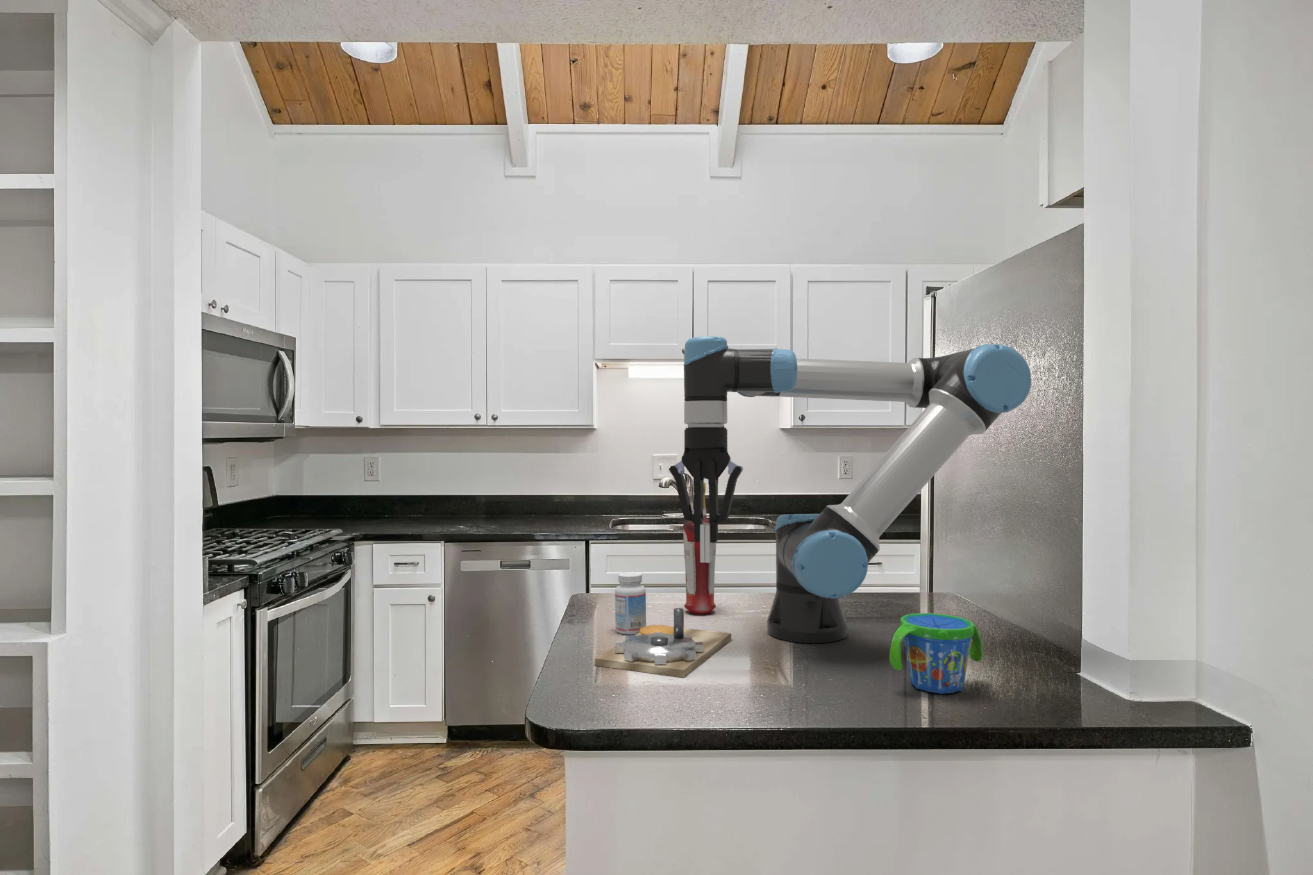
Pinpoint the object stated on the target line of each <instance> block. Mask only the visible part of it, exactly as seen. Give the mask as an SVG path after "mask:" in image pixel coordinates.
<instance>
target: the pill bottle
mask: <svg viewBox="0 0 1313 875" xmlns="http://www.w3.org/2000/svg"><path fill="white" fill-rule="evenodd" d="M617 577H618V583H619V584H618V585H617V586H616V587H615V589H614V605H615V607H614V611H615V612H614V613H615V614H614V615H615V618H614V619H615V622H614V623H615V632H617V633H618V634H620V635H628V636H630V635H636V634H638V633H640V628H642V627H645V626H647V595H646V594H647V593H646V592H647V589H646V588H645V586H644V585H643V584H641V583H642V582H643V574H642V573H641V572H638V571H637V572H636V571H626V572H621V573H619V574H618V575H617Z"/></svg>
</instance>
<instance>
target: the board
mask: <svg viewBox="0 0 1313 875" xmlns="http://www.w3.org/2000/svg"><path fill="white" fill-rule="evenodd" d="M684 634H685V635H689V636H692V640H694V641H695V642H703V652H696V659H693V660H690V661H686V660H680V661H674V662H666V664H655V662H644V661H638V660H635V661H632V662H631V661H628V660H624V653H615V646H614V647H612V648H610V649H608V650H606V651H605V652H602V654H599V655H598V656H596V657H594V666H597V667H605V668H611V669H618V670H624V671H633V672H641V673H647V674H654V675H655V674H656V675H660V676H661V675H662V676H668V677H669V676H670V677H677V678H685V677H686V676H688V675H689V674H690V673H691V672H693V671H694V670H695V669H696V668H698V667H699V666H700V665H702V664H703V663H704V662H705V661H706V660H707V659H709V658H710V657H711V656H712V655H714V654H715V653H716V652H718V651H719V650H720V649H721V648H722V647H724V646H725V645H727V643H729V642H730V641H731V640H732V633H731V632H724V631H716V630H715V631H714V630H705V629H697V628H690V627H689V628H687V627H684ZM634 635H635V636H639V635H642V634H641V633H638V634H634ZM623 642H624V641H622V642H621V643H623Z"/></svg>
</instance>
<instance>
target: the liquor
mask: <svg viewBox="0 0 1313 875" xmlns="http://www.w3.org/2000/svg"><path fill="white" fill-rule="evenodd" d="M706 485H707V483H706V482H704V484H703V519H704V520H703V523H709V518H708V517H707V509H706V508H707V507H706V498H705V496H706V492H707V486H706ZM692 486H693V488H692V489H693V492H694V483H693V485H692ZM692 513H693V514H694V509H692ZM682 536H683V538H682V539H683V555H684V570H685V572H684V573H685V601H686V602H685V604H684V609H685V610H687V611H688V612H689V613H690V614H692V615H698V616H699V615H701V616H703V615H704V616H705V615H708V614H709V615H710V614H711V613H712V612H713V611H714V609H716V607H717V605H716V603H715V570H716V569H715V568H716V557H717V556H716V554H717V553H716V551H717V542H716V543H712V561H711V562H710V563H704V562H700V542H695V540H694V523H693V522H691V521H688V520H686V522H684V523H683V525H682Z"/></svg>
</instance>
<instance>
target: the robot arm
mask: <svg viewBox="0 0 1313 875" xmlns="http://www.w3.org/2000/svg"><path fill="white" fill-rule="evenodd" d="M683 356H684V357H683V359H684V360H683V385H684V386H683V388H684V395H683V396H684V398H683V399H684V401H683V403H684V404H683V408H684V409H683V410H684V411H683V413H684V414H683V417H684V418H683V421H684V422H683V423H684V424H685V425H687V427H685V429H683V430H684V431H683V434H684V435H683V438H684V441H683V442H684V445H683V446H684V448H683V449H684V451H683V455H682V456H681V460H680V461H679V462H677V463H676V464H674V465H671V466H670V467H668V468H669V469H668V470H669V472H670V475H672V477H673V479H674V481H675V485H676V489H677V491H676V492H677V494H678V498H679V503H680V504H679V505H680V507H681V512H682V516H683V519H684V520H685V521H691V522H693V523H694V540H695V542H700V562H704V563H710V562H711V561H712V543H716V544H717V542H718V541H719V540H718V539H719V523H722V522H725V521H726V520H728V519H729V516H730V511H731V508H732V504H733V500H734V494H735V490H736V485H737V482H738V481H737V480H738V478H739V477H740V475H741V474H742V472H743V470H744V468H743V466H741V465H738V464H736V463H735V462H733V461H732V459H731V456H730V454H729V451H728V429H727V427H725V425H726V424H727V423H728V393H731V392H732V393H737V394H738V395H740V396H743V397H746V398H755V397H773V398H775V397H777V398H778V397H779V398H783V397H784V398H802V399H803V398H804V399H806V398H807V399H828V400H850V401H851V400H852V401H855V400H856V401H873V402H874V401H876V402H901V403H902V402H903V403H905V404H906V405H908V407H909V408H913V409H915V408H919V409H920V408H921V409H924V410H923V411H922V412H921V413H920V414H919V416H917V418H916V419H915V420H914V421H913V422H912V423H911V424H910V425H909V427H908V428H907V429H906V430H905V431H904V432H903V433H902V435H900V436H899V438H898V439H897V440H896V441H895V442H894V443H893V445H892V446H891V447H890V448H889V449H888V450H887V451H886V452H885V453H884V455H883V456H882V457H881V458H880V459H879V460H878V461H877V462H876V464H875V465H874V466H873V467H872V468H871V469H870V470H869V471H868V472H867V474H866V475H865V476H864V477H863V478H862V479H861V481H860V482H858V484H857V485H856V486H855V487H854V489H853V490H852V491H851V492H849V494H848V495H847V496H846V498H845V499H844V500H843V501H842V502H841V503H839V504H829V505H826V506H825V508H824V509H823V510H821V512H820V513H794V514H792V513H791V514H790V513H789V514H781V515H779V516H778V517H777V518H776V520H775V521H776V522H775V523H776V524H775V529H774V533H775V549H776V550H775V563H776V564H775V565H776V566H775V578H776V581H775V582H776V583H775V587H776V589H775V595H774V599H773V600H772V601H773V602H772V604H771V607H770V611H769V614H768V618H767V620H766V621H767V622H766V623H767V625H766V626H767V628H766V630H767V633H768V634H769V635H770V636H772V637H774V638H776V639H780V640H785V641H786V642H787V641H788V642H795V643H804V644H805V643H806V644H822V643H831V642H833V643H834V642H838V641H841V640H843V639H846V637H847V636H848V622H847V620H846V616H845V614H844V610H843V607H842V605H841V601H840V598H843V597H846V596H848V595H850V594H851V595H852V593H854V592H856V590H857V589H858V588H860V586H861V585H862V583H863V582H864V580H865V579H866V576H867V574H868V568H869V566H868V565H869V563H870V562H871V560H873V558H874V557H875V556H876V555H877V553H878V552H880V549H881V548H880V537H881V536H882V535H883V533H884V532H885V531H886V530H887V529H888V527H889V526H890V525H891V524H892V523H893V522H894V521H895V520H896V519H897V517H898V516H899V515H900V514H901V513H902V512H903V511H904V510H905V508H906V507H907V506H908V505H909V504H910V503H911V502H912V501H913V500H914V498H915V497H916V496H917V495H918V494H919V493H920V492H921V490H923V488H924V487H926V485H927V484H928V483H929V482H930V481H931V479H932V478H933V477H934V476H935V475H936V474H937V472H938V471H939V470H940V469H941V468H942V467H943V466H944V465H945V463H946V462H947V461H948V460H949V459H950V458H951V457H952V456H953V454H954V453H955V452H956V451H957V450H958V449H959V448H960V447H961V446H962V444H964V442H965V441H966V440H967V439H968V437H969V436H972V435H982V434H984V433H985V432H986V431H987V430H988V429H989V428H990V427H991V425H992V424H994V422H995V421H996V420H997V419H998V418H999V417H1000V416H1001V414H1005V413H1009V412H1011V411H1013V410H1015V409H1016V408H1018V407H1020V406H1021V405H1022V404H1023V403H1024V402H1025V401H1026V399H1027V398H1028V396H1029V394H1030V392H1031V388H1032V376H1031V374H1032V373H1031V369H1030V366H1029V364H1028V362H1027V361H1026V358H1024V356H1022V354H1021V353H1020V352H1019V351H1017V350H1016V349H1014V348H1012V347H1010V346H1008V345H1006V344H1000V343H999V344H998V343H996V344H994V343H991V344H989V343H987V344H981V345H977V346H976V347H975V348H971V349H967V350H963V351H959V352H954V353H950V354H945V355H941V356H935V357H913V358H911V359H910V360H909V361H908V362H893V361H870V360H869V361H868V360H867V361H866V360H848V359H847V360H843V359H842V360H841V359H822V358H821V359H817V358H797V355H796V354H795V352H794V351H793V350H791V349H784V348H783V349H781V348H777V347H775V348H762V349H761V348H758V349H755V348H754V349H751V348H750V349H746V348H745V349H744V348H743V349H741V348H739V349H737V348H736V349H735V348H729V346H728V341H727V339H726V338H725V337H723V336H714V335H712V336H711V335H709V336H708V335H705V336H703V335H702V336H694V337H690V338H688V340H687V341H686V342H685V344H684V355H683ZM726 468H728V469H727V474H728V475H729V477H728V480H727V482H726V483H727V484H726V487H725V493H724V496H723V499H722V500H723V501H722V504H721V509H720V514H719V478H720V476H721V475H722V474H723V473H724V471H725V470H726ZM685 469H686V470H687V471H688V473H689V474H690V475H691V477H692V478H693V483H694V491H693V508H692V505H691V501H690V497H689V495H690V494H689V492H688V487H687V482H686V478H685V476H684V474H685V472H686V471H685ZM705 479H706V480H707V483H708V517H709V518H708V519H709V523H703V520H704V519H703V484H704V483H705ZM693 510H694V514H693Z"/></svg>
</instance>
